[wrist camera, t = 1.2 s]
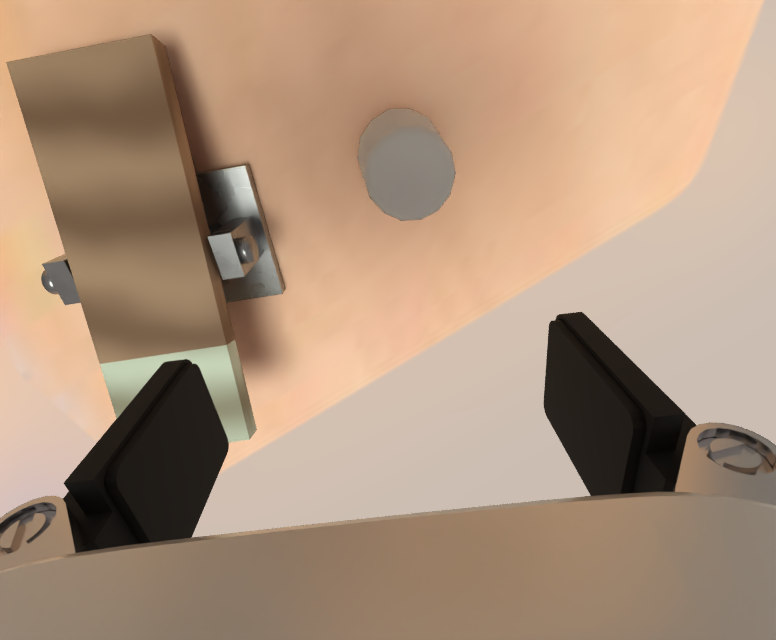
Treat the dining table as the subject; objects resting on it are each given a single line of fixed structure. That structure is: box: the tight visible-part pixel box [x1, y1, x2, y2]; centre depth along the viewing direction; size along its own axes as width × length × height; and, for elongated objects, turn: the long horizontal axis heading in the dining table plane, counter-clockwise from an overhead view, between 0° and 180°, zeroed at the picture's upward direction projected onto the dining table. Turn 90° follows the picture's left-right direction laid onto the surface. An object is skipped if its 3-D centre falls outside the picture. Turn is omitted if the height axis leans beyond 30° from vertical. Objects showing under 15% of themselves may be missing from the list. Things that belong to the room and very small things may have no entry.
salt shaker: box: [358, 108, 455, 221], centre depth 24 cm, size 6×6×13 cm
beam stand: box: [41, 164, 285, 305], centre depth 30 cm, size 10×14×6 cm
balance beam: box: [6, 34, 257, 442], centre depth 28 cm, size 26×9×2 cm, turn 10°
